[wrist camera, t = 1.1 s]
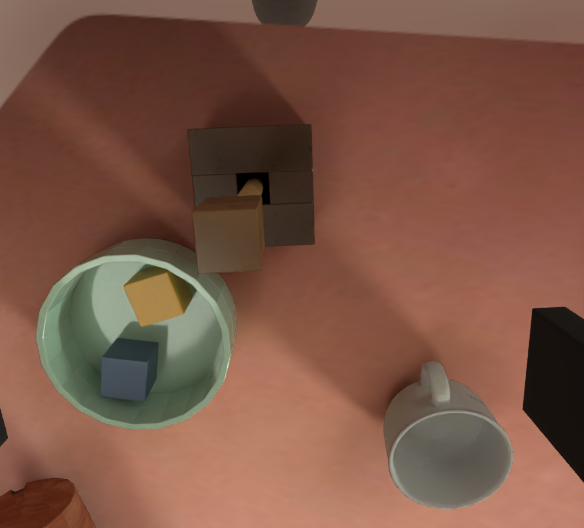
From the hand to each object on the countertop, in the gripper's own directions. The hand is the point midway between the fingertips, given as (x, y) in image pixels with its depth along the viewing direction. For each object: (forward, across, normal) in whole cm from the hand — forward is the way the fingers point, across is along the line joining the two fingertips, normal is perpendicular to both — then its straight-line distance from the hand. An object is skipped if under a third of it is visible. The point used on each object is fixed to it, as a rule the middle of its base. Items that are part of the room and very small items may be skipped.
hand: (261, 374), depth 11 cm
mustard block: (+31, -11, -8) cm, 34 cm away
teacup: (+32, +14, -22) cm, 41 cm away
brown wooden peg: (+32, -2, +1) cm, 32 cm away
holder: (+32, -2, +1) cm, 32 cm away
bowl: (+32, -13, -12) cm, 36 cm away
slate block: (+31, -15, -15) cm, 38 cm away
